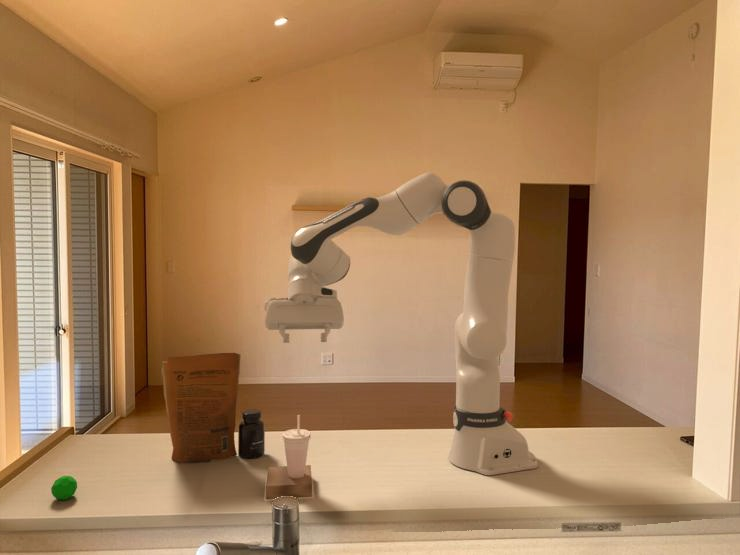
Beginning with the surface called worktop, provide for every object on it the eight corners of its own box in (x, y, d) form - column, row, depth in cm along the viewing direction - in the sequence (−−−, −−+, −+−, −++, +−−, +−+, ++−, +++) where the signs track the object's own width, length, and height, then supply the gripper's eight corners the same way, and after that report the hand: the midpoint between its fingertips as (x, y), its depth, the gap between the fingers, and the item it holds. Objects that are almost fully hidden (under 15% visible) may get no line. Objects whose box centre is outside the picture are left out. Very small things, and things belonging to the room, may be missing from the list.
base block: (310, 477, 133) (310, 465, 133) (312, 496, 123) (312, 483, 123) (268, 479, 132) (268, 467, 131) (266, 499, 122) (265, 486, 121)
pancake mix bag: (241, 462, 142) (239, 354, 140) (162, 467, 139) (160, 356, 137) (242, 452, 149) (241, 349, 147) (168, 456, 146) (165, 351, 144)
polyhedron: (47, 503, 120) (46, 482, 120) (59, 493, 125) (58, 472, 125) (70, 503, 120) (69, 482, 120) (81, 493, 125) (81, 472, 125)
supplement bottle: (258, 462, 143) (258, 416, 142) (233, 459, 144) (233, 414, 143) (268, 451, 149) (268, 408, 148) (245, 449, 151) (244, 406, 150)
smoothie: (297, 483, 123) (298, 421, 122) (276, 476, 126) (276, 415, 125) (316, 473, 128) (316, 413, 127) (294, 466, 132) (295, 408, 131)
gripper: (264, 290, 146) (262, 334, 137) (342, 290, 148) (345, 333, 139) (265, 305, 150) (263, 348, 141) (341, 305, 153) (344, 347, 144)
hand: (305, 341), depth 141 cm, fingers open, 8 cm apart
